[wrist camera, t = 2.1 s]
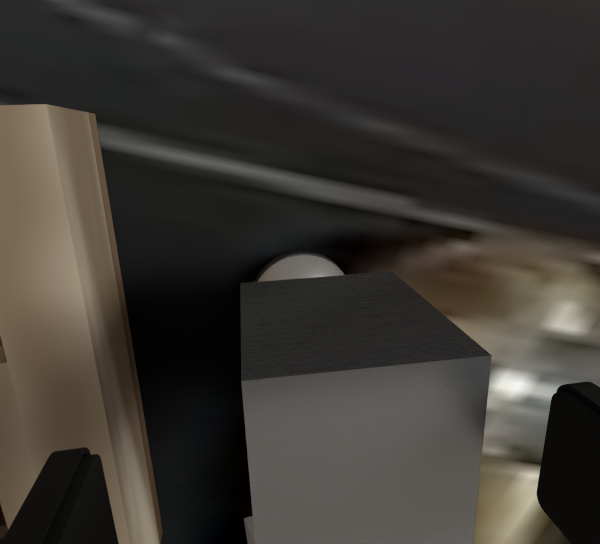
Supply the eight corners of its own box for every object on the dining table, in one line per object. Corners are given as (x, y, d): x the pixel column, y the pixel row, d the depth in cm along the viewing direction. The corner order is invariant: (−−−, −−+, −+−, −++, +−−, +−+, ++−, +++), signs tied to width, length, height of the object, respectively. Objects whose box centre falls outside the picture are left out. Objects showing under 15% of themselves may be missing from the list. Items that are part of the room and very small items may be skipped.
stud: (354, 239, 19) (491, 355, 9) (354, 342, 21) (472, 548, 10) (239, 247, 19) (241, 380, 8) (248, 352, 20) (258, 581, 10)
